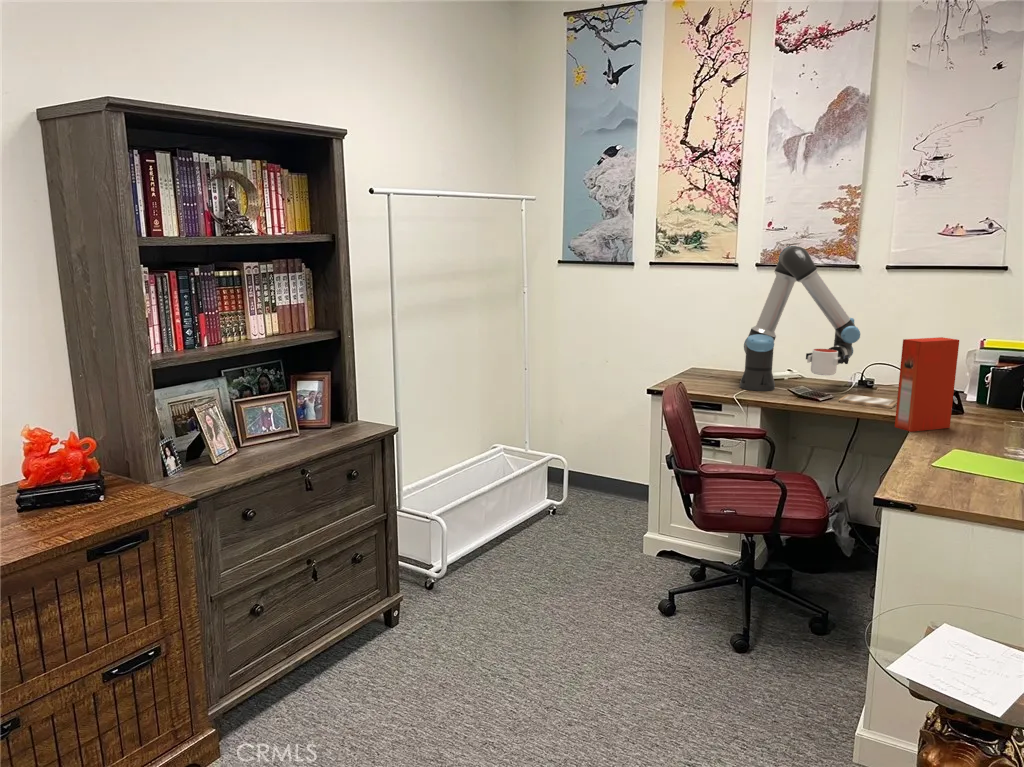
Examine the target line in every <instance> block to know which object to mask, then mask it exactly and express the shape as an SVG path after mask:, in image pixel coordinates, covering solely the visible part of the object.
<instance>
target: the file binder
mask: <svg viewBox="0 0 1024 767" xmlns="http://www.w3.org/2000/svg"><path fill="white" fill-rule="evenodd" d="M959 347H960V339H957V338H956V339H955V338H950V337H944V336H943V337H942V336H941V337H939V336H938V337H922V338H905V339H904V338H903V339H902V347H901V356H900V357H901V359H900V366H899V367H900V368H899V377H898V390H897V397H896V398H897V399H896V400H897V405H896V408H895V409H896V410H895V421H894V428H897V429H900V430H904V431H908V432H910V433H912V432H913V433H914V432H920V431H921V432H922V431H931V430H932V431H933V430H942V429H944V430H945V429H950V428H951V419H952V410H953V403H954V402H953V401H954V393H955V383H956V376H957V374H956V373H957V365H958V357H959V349H960V348H959Z"/></svg>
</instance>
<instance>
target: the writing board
mask: <svg viewBox="0 0 1024 767" xmlns="http://www.w3.org/2000/svg"><path fill="white" fill-rule="evenodd" d="M838 401H840V402H839V403H841V402H845V403H844V404H849V403H851V404H850V405H857V404H858V405H859V406H865V405H866V407H872V406H873V407H874V408H880V407H883V408H882V409H888V408H892V407H893V408H894V407H895V406H897V405H896V404H897V399H896V400H895V399H890V398H882V397H873V396H864V395H857V394H849V393H848V394H846V395H844V396H843V397H841V398H839V399H838ZM893 408H892V409H893Z"/></svg>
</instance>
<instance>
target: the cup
mask: <svg viewBox="0 0 1024 767" xmlns="http://www.w3.org/2000/svg"><path fill="white" fill-rule="evenodd" d="M811 353H812V362H810V372H811V373H813V374H814V375H820V376H834V375H835V374H836V373H837V365H836V366H834V359H836V358H838V351H836V350H831V349H829V348H813V349H812V352H811Z"/></svg>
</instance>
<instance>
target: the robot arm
mask: <svg viewBox="0 0 1024 767" xmlns="http://www.w3.org/2000/svg"><path fill="white" fill-rule="evenodd" d="M774 273H775V274H774V275H775V278H774V281H773V283H772V285H771V288H770V290H769V293H768V296H767V298H766V300H765V303H764V306H763V308H762V309H761V313H760V315H759V317H758V320H757V323H756V325H755V326H752V327H751V329H750V330H749V334H747V337H746V339H745V340H744V344H743V350H744V353H745V361H744V362H745V364H744V372H743V374H742V376H741V379H740V381H739V388H740V389H743V390H749V391H756V392H758V391H759V392H767V391H774V390H775V388H776V382H775V378H774V375H773V361H774V347H775V341H776V338H777V335H776V333H775V331H776V329H777V326H778V324H779V322H780V319H781V317H782V314H783V312H784V310H785V307H786V304H787V302H788V299H789V298H790V295H791V293H792V291H793V288H794V285H795V283H796V282H798V283H801V284H802V286H803V287H804V288H805V291H807V292H808V294H809V295H810V297H811V298H812V299H813V301H814V302H815V304H816V305H817V306H818V308H819V310H821V312H822V313H823V315H824V316H825V318H826V320H827V321H828V322H829V323H830V324H831V326H832V327H833V328H834V330H835V331H834V340H833V346H831V347H829V348H828V349H831V350H836V351H838V358H836V359H834V366H836V365H840V364H841V365H842V364H845V365H849V360H850V358H851V357H852V356H853V354H854V348H853V344H854V343H857V342H858V341H859V340H860V338H861V331H860V329H859V328H858V327H857V326H856V325H855V319H854V317H850V316H849V315H848V314H847V312H846V311H845V309H844V308H843V307H842V305H841V304H840V302H839V301H838V299H837V298H836V297H835V295H834V293H832V291H831V290H830V288H829V287H828V285H827V284H826V282H824V280H823V279H822V277H821V276H820V274H819V272H818V267H817V266H816V265H815V263H814V261H813V259H812V257H811V255H810V253H809V252H808V251H807V250H806V249H805V248H803V246H802V247H801V246H799V245H798V246H797V245H789V246H787V247H785V248H784V249H783V250H781V252H780V253H779V256H778V261H777V265H776V266H775V268H774ZM805 360H807V363H811V362H812V352H809V353H805Z"/></svg>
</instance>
